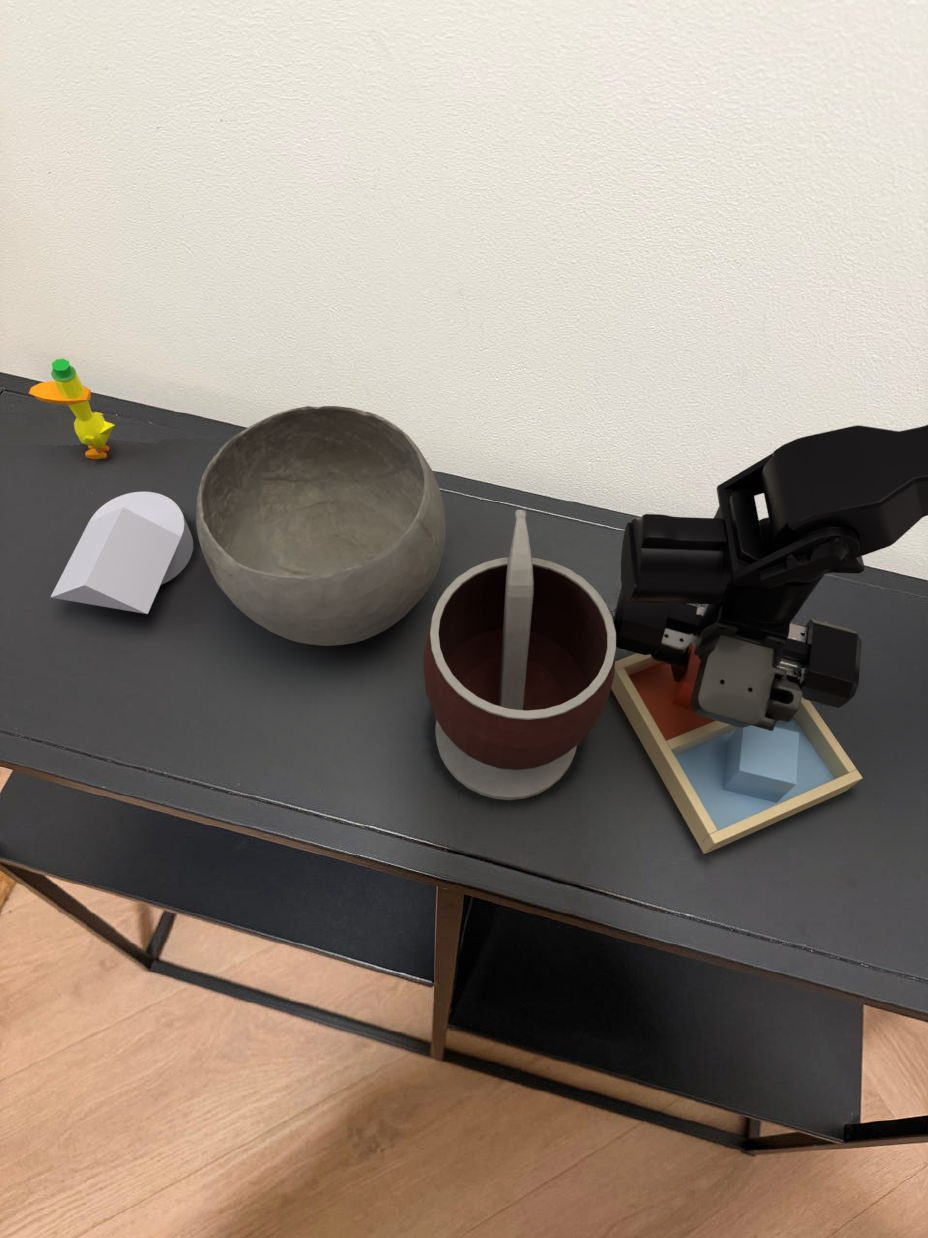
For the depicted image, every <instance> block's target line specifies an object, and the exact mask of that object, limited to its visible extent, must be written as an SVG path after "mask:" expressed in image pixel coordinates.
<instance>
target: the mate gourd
mask: <svg viewBox="0 0 928 1238" xmlns="http://www.w3.org/2000/svg"><path fill="white" fill-rule="evenodd" d="M514 519H515V523H514V524H515V525H514V529H513V534H512V539H511V545H510V550H509V555H508V557H500V558H496V559H492V560H488V561H485V562H482V563H479V564H478V565H476V566H473V567H471V568H469V569H468V570H466V571H464V572H463V573H462V574H460V575H458V576H457V577H456V578H455V579H454V580H453V581H452V582H451V583H450V585H449V586H448V587H447V588H445V590H444V591H443V593H442V594H441V596H440V598H439V599H438V601H437V602H436V606H435V608H434V611H433V614H432V616H431V622H430V624H429V628H428V631H427V634H426V638H425V642H424V650H423V657H422V660H423V664H422V665H423V680H424V688H425V693H426V697H427V699H428V702H429V706H430V708H431V711H432V713H433V716H434V717H435V731H434V732H435V740H436V741H435V742H436V746H437V749H438V752H439V756H440V758H441V761H443V763H444V766H445V767H446V769H447V770H448V771H449V773H451V775H452V776H453V777H454V778H455V779H456V780H457V781H458V782H459V783H460V784H462V785H463V786H464V787H466V788H467V789H469V790H470V791H472V792H475V793H476V794H479V795H481V796H484V797H487V798H491V799H495V800H504V801H505V800H506V801H515V800H524V799H527V798H530V797H533V796H538V795H539V794H541V793H543V792H545V791H547V790H549V789H550V788H551V787H553V785H555V784H556V783H558V781H560V780H561V779H562V777H563V776H564V775H565V774H566V773H567V771H568V770H569V768H570V766H571V764H572V762H573V760H574V758H575V754H576V751H577V746H578V745H579V744H580V743H581V742H582V741H583V739H584V738H586V737H587V735H588V734H589V733H590V731H591V730H592V729H593V727H594V726H595V725H596V723H597V722H598V721H599V719H600V717H601V715H602V712H603V711H604V708H605V706H606V704H607V702H608V699H609V696H610V694H611V691H612V689H611V687H612V682H613V678H614V670H615V662H616V650H617V647H616V632H615V628H614V623H613V616H612V614H611V612H610V611H609V607H608V605H607V603H606V602H605V601H604V599H603V597H602V596H601V595H600V594H599V592H598V591H597V589H595V588H594V587H593V586H592V585H591V584H590V583H589V582H588V581H587V580H586V579H585V578H584V577H582V576H581V575H579V574H577V573H576V572H575V571H573V570H571V569H569V568H567V567H565V566H563V565H561V564H559V563H556V562H553V561H550V560H545V559H542V558H538V557H533V556H532V550H531V544H530V543H531V542H530V539H529V537H530V536H529V529H528V525H527V511H526V509H517V510H515V511H514Z"/></svg>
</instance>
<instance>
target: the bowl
mask: <svg viewBox="0 0 928 1238" xmlns="http://www.w3.org/2000/svg"><path fill="white" fill-rule="evenodd" d="M444 504H445V503H444V500H443V495H442V492H441V489H440V487H439V483H438V482H437V479H436V476H435V475H434V471H433V469H432V467H431V466H430V464H429V462H428V460H427V459H426V458H425V457H424V454H423V453H422V451H421V450H420V448H419V446H417V444H416V443H415V442H414V441H413V439H412V438H411V437H410V435H408V434H407V433H406V432H405V431H403V430H402V429H401V428H400V427H399V426H397V425H396V424H394V422H391V420H388V419H387V418H385V417H383V416H381V415H379V414H376V413H373V412H370V411H365V410H362V409H359V408H353V407H347V406H339V405H323V406H322V405H321V406H313V405H312V406H311V405H307V406H301V407H296V408H291V409H287V410H284V411H281V412H278V413H275V414H272V415H270V416H268V417H266V418H264V419H261V420H260V421H257V422H256V423H254V424H252V425H250V426H248V427H246V428H245V429H243V430H242V431H240V432H238V433H236V434H234V435H233V436H232V437H231V438H230V439H228V440H227V441H226V442H225V443H223V445H222V446H221V447H220V448H219V449H218V451H217V453H216V454H214V455H213V457H212V459H211V460H210V462H209V463H208V464H207V465H206V468H205V470H204V472H203V473H202V477H201V480H200V483H199V488H198V492H197V496H196V508H195V524H196V532H197V538H198V542H199V544H200V548H201V552H202V554H203V557H204V560H205V563H206V565H207V567H208V568H209V571H210V573H211V575H212V577H213V579H214V581H215V582H216V584H217V586H218V587H219V588H220V590H221V591H222V592H223V593H224V594H225V596H227V598H228V599H229V600H230V601H231V603H232V604H233V605H234V606H235V607H236V608H237V609H239V611H240V612H241V613H242V614H244V615H245V616H246V617H247V618H249V619H250V620H251V621H252V622H254V623H256V625H257V624H258V625H259V626H261V627H263V629H265V630H267V631H268V632H271V633H272V634H275V635H277V636H280V637H282V638H284V639H286V640H290V641H292V642H295V643H300V644H306V645H312V646H325V647H330V646H331V647H332V646H342V645H350V644H355V643H359V642H362V641H365V640H367V639H370V638H372V637H374V636H376V635H378V634H380V633H382V632H384V631H386V630H387V629H390V628H391V627H392V626H393V625H395V624H396V623H398V622H399V621H400V620H401V619H403V618H405V616H407V614H408V613H409V612H410V611H411V610H413V608H414V607H415V606H416V605H417V604H418V603H419V602H420V601H421V600H422V598H424V596H425V595H426V593H427V592H428V591H429V589H430V587H431V586H432V584H433V583H434V582H435V579H436V578H437V575H438V572H439V571H440V570H439V569H440V567H441V563H442V559H443V554H444V552H445V546H446V536H447V521H446V511H445V510H446V509H445V505H444Z"/></svg>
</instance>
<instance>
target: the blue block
mask: <svg viewBox="0 0 928 1238" xmlns="http://www.w3.org/2000/svg"><path fill="white" fill-rule="evenodd" d="M798 751H799V732H794V731H790V730H786V729H782V728H777V727H774V730H773V731H769V730H766V729H762V728H758V727H755V726H748V727H743V728H740V727H738V728H737V729H736V730H735V732H734V733H733V734H732V735H731V737H730V738H729V739H728V741H727V749H726V759H725V770H724V780H723V790H727V791H731V792H736V793H740V794H744V795H748V796H752V797H756V798H760V799H764V800H768V801H773V802H778V801H779V800H780V799H781V798H782V797H784V796H785V795H786V794H787V793H788V792H789V791H790V790H791V789H792V788H793V787H794V786H795V785H796V784H797V771H798Z"/></svg>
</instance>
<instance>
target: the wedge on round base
mask: <svg viewBox="0 0 928 1238" xmlns="http://www.w3.org/2000/svg"><path fill="white" fill-rule="evenodd" d="M192 535H193V534H192V533H191V530H190V528H189V525H188V524H187V520H186V519H185V516H184V514H183V511H182V509H181V508H180V507H179V505H178V504H177V503H176V502H175V501H174V500H172V499H171V498H170V497H168V496H166V495H164V494H161V493H158V492H152V491H134V492H129V493H125V494H122V495H119V496H117V497H114V498H112V499H110V500H109V501H107V502H105V503H104V504H103V505H102V506H100V507H99V508H98V509H97V510H96V511H95V513H94V514H93V515H92V516H91V518H90V519H89V521H88V523H87V525H86V527H85V529H84V531H83V533H82V534H81V537H80V538H79V541H78V542H77V544H76V546H75V549H74V550H73V552H72V554H71V556H70V558H69V560H68V561H67V564H66V566H65V568H64V570H63V572H62V573H61V576H60V577H59V579H58V582H57V583H56V586H55V587H54V589H53V591H52V593H51V595H50V599H51V598H52V599H55V600H63V601H68V602H73V603H81V604H86V605H92V606H96V607H97V606H98V607H102V608H103V607H104V608H109V609H116V610H121V611H128V612H133V613H139V614H145V615H148V614H149V612H150V610H151V608H152V605H153V603H154V601H155V598H156V596H157V594H158V592H159V589H160V587H161V585H164V584H167V583H168V582H170V581H171V580H173V579H174V578H176V577H177V576H178V575H179V574H180V573H182V571H183V570H184V569H185V568H186V566H187V565H188V564H189V562H190V560H191V558H192V556H193V551H194V538H193V536H192Z"/></svg>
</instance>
